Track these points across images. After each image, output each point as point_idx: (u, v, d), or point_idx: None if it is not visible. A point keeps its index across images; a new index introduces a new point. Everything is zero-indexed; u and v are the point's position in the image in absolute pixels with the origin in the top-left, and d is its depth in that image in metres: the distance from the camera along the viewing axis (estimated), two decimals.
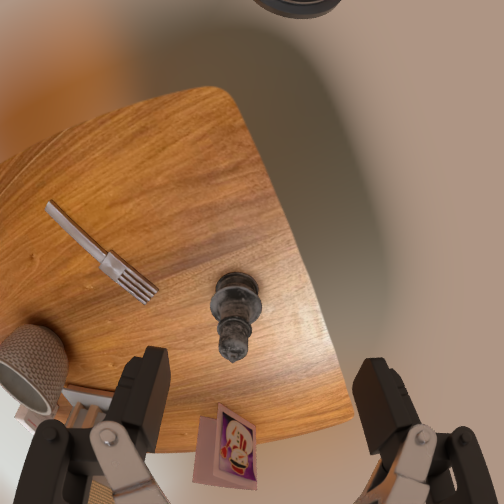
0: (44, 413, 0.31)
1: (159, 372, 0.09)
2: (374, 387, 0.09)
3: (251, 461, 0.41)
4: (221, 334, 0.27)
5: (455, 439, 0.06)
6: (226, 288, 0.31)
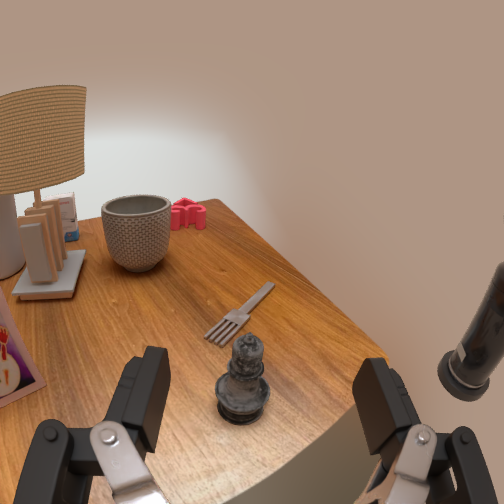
0: (105, 209, 0.46)
1: (159, 372, 0.09)
2: (374, 387, 0.09)
3: None
4: None
5: (455, 439, 0.06)
6: (263, 378, 0.29)
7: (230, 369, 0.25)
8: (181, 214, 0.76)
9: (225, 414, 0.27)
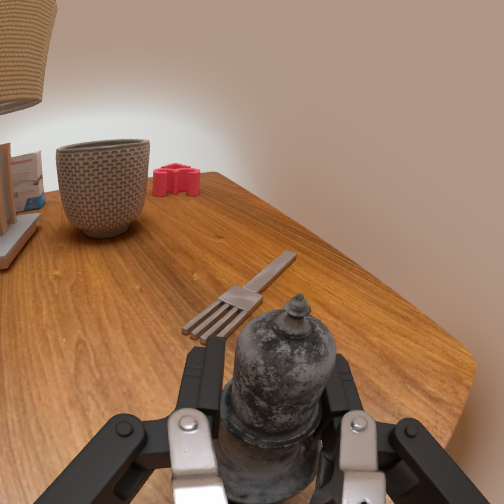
0: (60, 148, 0.29)
1: None
2: None
3: None
4: None
5: (399, 431, 0.07)
6: None
7: (227, 413, 0.08)
8: (169, 178, 0.59)
9: None
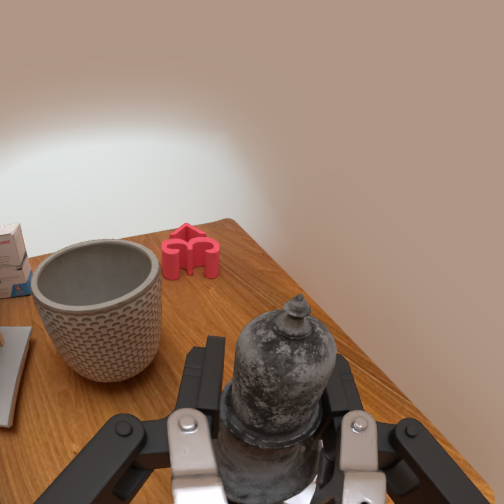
0: (35, 283, 0.20)
1: (223, 359, 0.10)
2: None
3: None
4: None
5: (399, 431, 0.07)
6: None
7: (227, 414, 0.08)
8: (182, 253, 0.50)
9: None
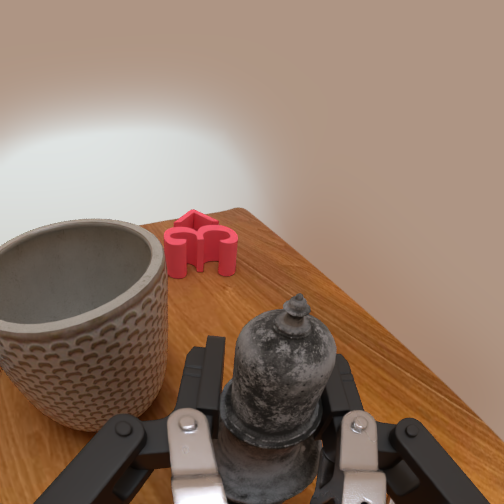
0: None
1: (223, 359, 0.10)
2: None
3: None
4: None
5: (399, 431, 0.07)
6: None
7: (227, 413, 0.08)
8: (189, 245, 0.40)
9: None
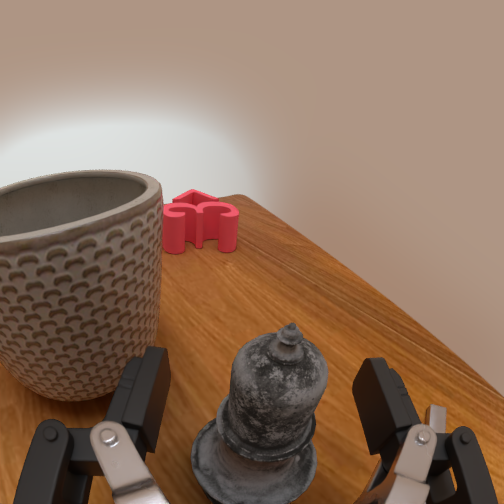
0: None
1: (159, 372, 0.09)
2: (374, 387, 0.09)
3: None
4: None
5: (455, 439, 0.06)
6: None
7: (224, 428, 0.08)
8: (188, 220, 0.38)
9: None
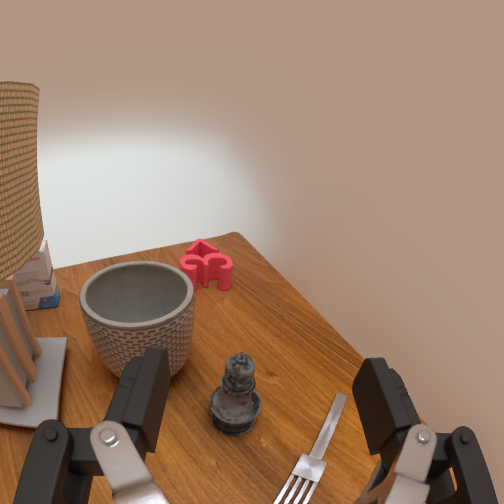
0: (85, 303, 0.26)
1: (159, 372, 0.09)
2: (374, 387, 0.09)
3: None
4: None
5: (455, 439, 0.06)
6: (255, 392, 0.30)
7: (223, 384, 0.26)
8: (198, 268, 0.56)
9: (219, 425, 0.28)
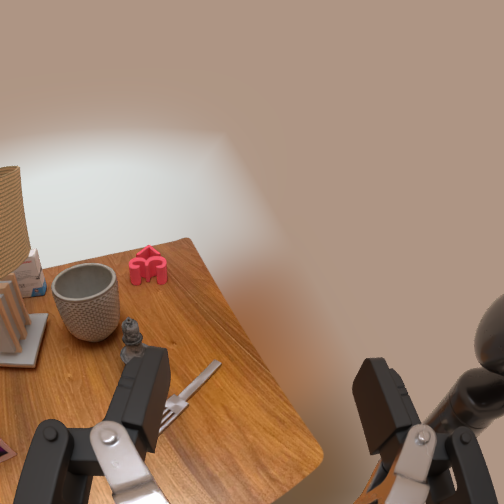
0: (54, 288, 0.42)
1: (159, 372, 0.09)
2: (374, 387, 0.09)
3: None
4: None
5: (455, 439, 0.06)
6: None
7: (123, 338, 0.42)
8: (143, 267, 0.72)
9: None
